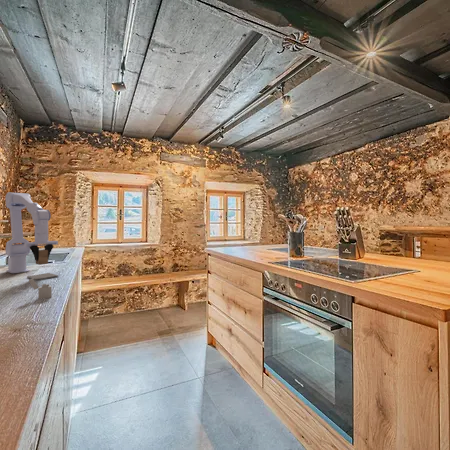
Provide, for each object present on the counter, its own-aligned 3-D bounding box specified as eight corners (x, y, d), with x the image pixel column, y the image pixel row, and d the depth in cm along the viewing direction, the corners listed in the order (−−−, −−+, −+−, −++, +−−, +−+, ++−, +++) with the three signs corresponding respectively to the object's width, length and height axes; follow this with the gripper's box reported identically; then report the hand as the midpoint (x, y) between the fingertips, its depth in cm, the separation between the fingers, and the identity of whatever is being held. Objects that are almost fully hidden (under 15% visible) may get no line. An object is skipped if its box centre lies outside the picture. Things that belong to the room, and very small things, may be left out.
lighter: (51, 296, 104) (51, 276, 103) (51, 297, 102) (51, 277, 102) (29, 299, 100) (29, 278, 100) (28, 300, 98) (28, 279, 98)
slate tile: (27, 277, 132) (27, 276, 132) (49, 274, 141) (49, 272, 141) (35, 280, 127) (35, 279, 127) (57, 277, 135) (57, 275, 135)
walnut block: (35, 263, 133) (35, 250, 133) (44, 262, 137) (44, 249, 136) (39, 264, 131) (39, 250, 131) (48, 263, 134) (47, 250, 134)
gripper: (28, 234, 125) (28, 262, 126) (60, 233, 137) (60, 258, 138) (22, 233, 129) (22, 261, 129) (54, 232, 141) (54, 257, 142)
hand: (41, 259), depth 134 cm, fingers closed on walnut block, 4 cm apart
